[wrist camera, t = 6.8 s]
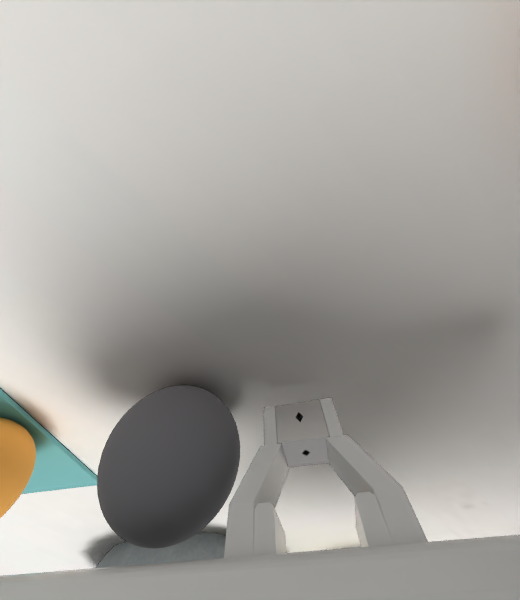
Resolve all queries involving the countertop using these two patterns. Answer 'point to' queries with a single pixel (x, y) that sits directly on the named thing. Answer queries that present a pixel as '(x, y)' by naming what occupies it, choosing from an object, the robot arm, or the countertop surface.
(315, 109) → the countertop surface
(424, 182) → the countertop surface
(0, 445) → the ball
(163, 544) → the ball
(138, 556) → the pie
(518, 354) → the countertop surface
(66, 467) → the mark
